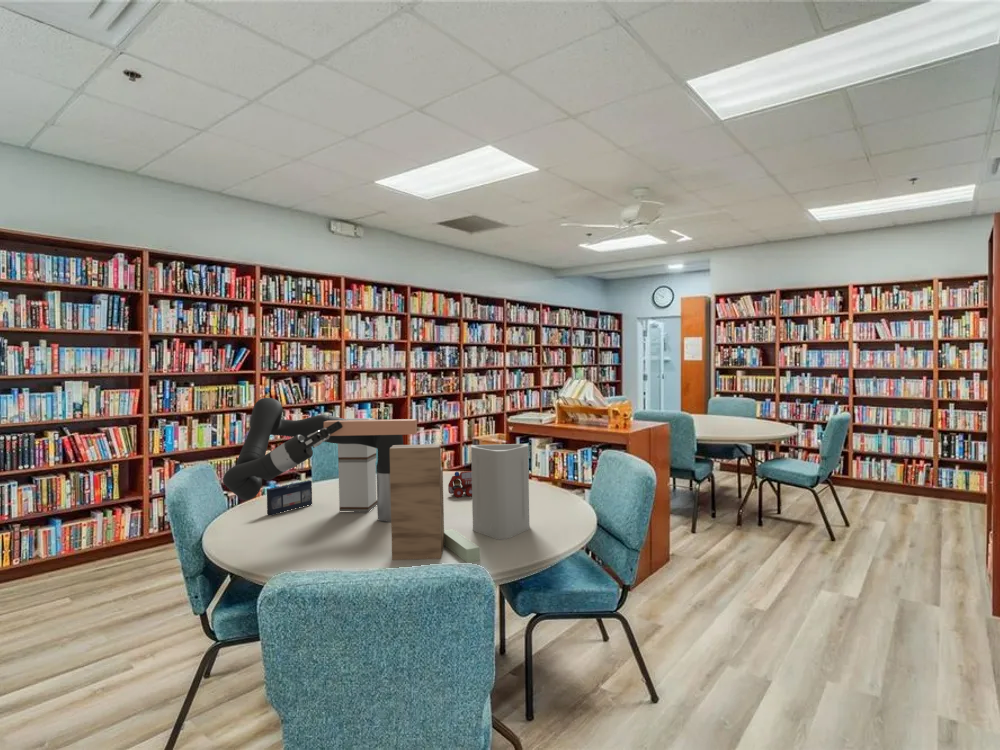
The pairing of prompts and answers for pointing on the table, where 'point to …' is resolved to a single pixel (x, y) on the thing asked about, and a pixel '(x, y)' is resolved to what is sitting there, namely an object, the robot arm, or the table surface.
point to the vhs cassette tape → (289, 497)
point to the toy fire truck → (465, 482)
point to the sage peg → (461, 546)
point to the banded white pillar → (357, 476)
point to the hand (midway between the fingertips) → (342, 423)
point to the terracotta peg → (375, 427)
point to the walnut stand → (416, 502)
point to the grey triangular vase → (500, 489)
